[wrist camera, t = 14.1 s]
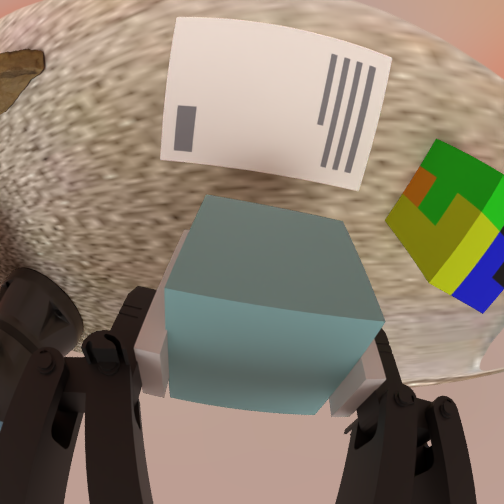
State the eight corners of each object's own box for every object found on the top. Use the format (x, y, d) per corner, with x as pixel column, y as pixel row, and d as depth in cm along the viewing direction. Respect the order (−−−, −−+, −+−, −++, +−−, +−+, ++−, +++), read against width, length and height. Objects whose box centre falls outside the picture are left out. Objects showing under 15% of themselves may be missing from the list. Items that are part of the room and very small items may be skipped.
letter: (160, 159, 24) (160, 160, 24) (177, 17, 17) (176, 16, 17) (358, 190, 25) (358, 191, 25) (391, 57, 18) (392, 57, 18)
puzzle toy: (441, 255, 29) (482, 313, 21) (384, 220, 27) (428, 283, 18) (486, 188, 24) (542, 233, 16) (435, 138, 22) (503, 174, 13)
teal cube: (195, 298, 15) (170, 397, 10) (206, 194, 12) (164, 287, 7) (304, 316, 16) (314, 415, 11) (342, 221, 12) (385, 321, 7)
